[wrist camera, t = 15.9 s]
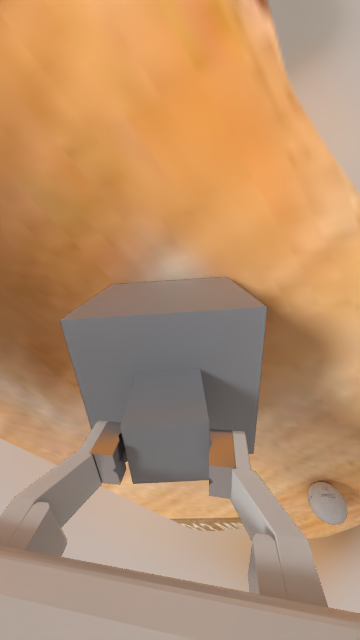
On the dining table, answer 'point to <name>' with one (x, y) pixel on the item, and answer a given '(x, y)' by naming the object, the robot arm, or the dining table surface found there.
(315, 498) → the golf ball
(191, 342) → the grey blocky shape
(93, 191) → the dining table surface
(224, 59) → the dining table surface
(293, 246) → the dining table surface
